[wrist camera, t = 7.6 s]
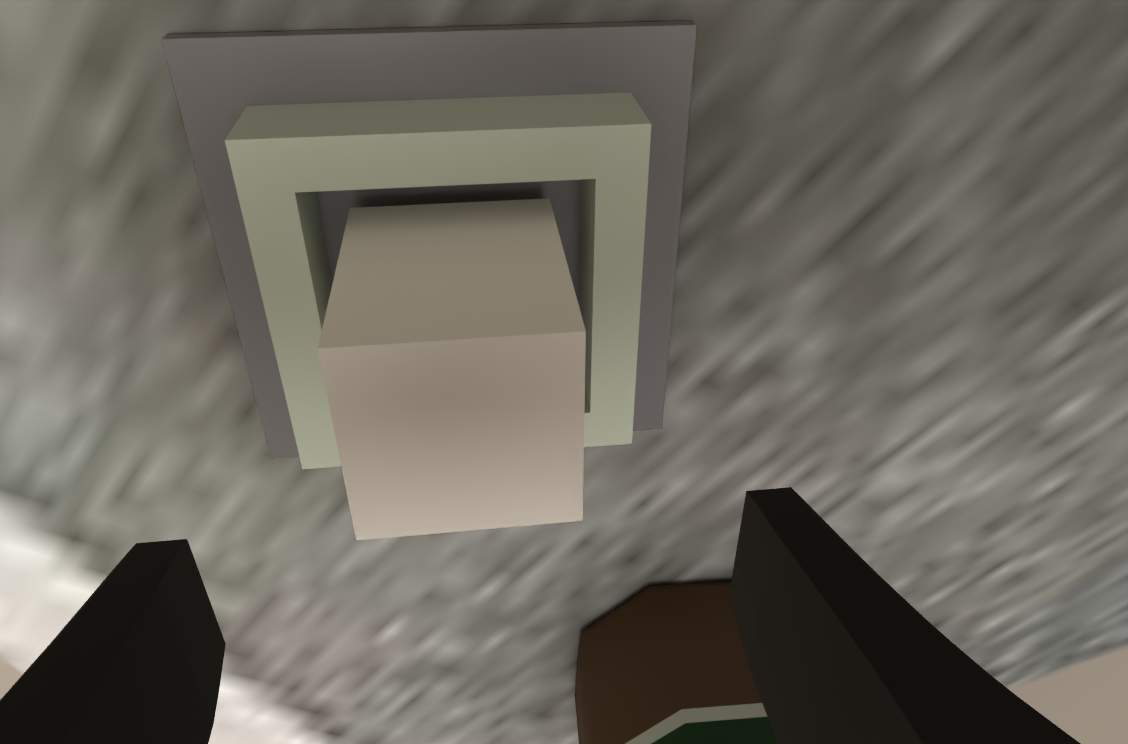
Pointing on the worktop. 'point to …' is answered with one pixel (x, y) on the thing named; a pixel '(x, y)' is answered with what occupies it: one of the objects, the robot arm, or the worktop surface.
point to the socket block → (441, 181)
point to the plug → (455, 369)
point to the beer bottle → (669, 672)
